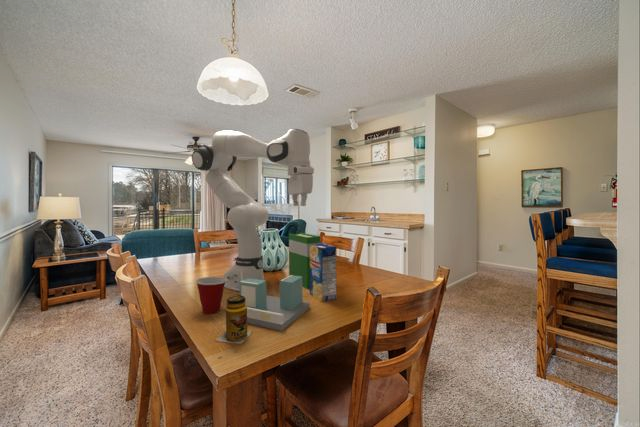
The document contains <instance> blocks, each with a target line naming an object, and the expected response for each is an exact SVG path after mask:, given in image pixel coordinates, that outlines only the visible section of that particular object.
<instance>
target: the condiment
mask: <svg viewBox="0 0 640 427" xmlns="http://www.w3.org/2000/svg"><path fill="white" fill-rule="evenodd" d="M226 301H227V302H226V308H225V328H226V330H225V331H224V332H223V333H221V335H220V336H219V337H218V338H217V339H216V340H215V342H222V343H229V344H239V345H240V344H241V345H242V344H243V343H245V341H246V340H247V339H248V338H249V337H250V335H251V334H252V333H253V330H248V323H247V306H246V305H245V304H246V302H245V297H244V296H241V295H239V294H237V295H231V296H229V297H228V298H227V299H226Z"/></svg>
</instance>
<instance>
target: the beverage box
mask: <svg viewBox="0 0 640 427" xmlns="http://www.w3.org/2000/svg"><path fill="white" fill-rule="evenodd" d="M337 249H338V248H337V246H335V245H332V244H328V243H324V242H320V243H319V244H310V289H309V294H310V295H311V296H312V297H314V298H315V299H317V300H318V301H319V302H321V303H325V302H330V301H334V300H337V256H338V255H337V254H338V253H337V251H338V250H337Z"/></svg>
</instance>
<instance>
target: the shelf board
mask: <svg viewBox="0 0 640 427" xmlns="http://www.w3.org/2000/svg"><path fill="white" fill-rule="evenodd" d="M266 304H267V308H266V309H264V310H260V309H255V308H250V307H247V324H250V325H254V326H258V327H262V328H268V329H271V330H276V331H281V332H282V331H284V330H285V329H286V328H287V327H288V326H290V325H291V324H292V323H293V322H294V321H295V320H297V319H298V318H299V317H300V316H302V315H303V314H304V313H305V312H306V311H308V310H309V309H310V306H311V305H310V301H303V303H301V304H300V305H299V306H297V307H296V308H295V309H293V310H288V309H282V308H280V296H279V297H278V296H273V295H272V296H271V295H268V294H266Z"/></svg>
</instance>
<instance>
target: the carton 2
mask: <svg viewBox="0 0 640 427" xmlns="http://www.w3.org/2000/svg"><path fill="white" fill-rule="evenodd" d="M303 289H304V287H302V277H301V276H293V275H290V276H289V275H288V276H286V277H284V278H283V279H280V280H279V298H280V308H282V309H288V310H293V309H295V308H296V307H297V306H299V305H300V304H301V303H303V302H304V301H303V298H304V297H303Z"/></svg>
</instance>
